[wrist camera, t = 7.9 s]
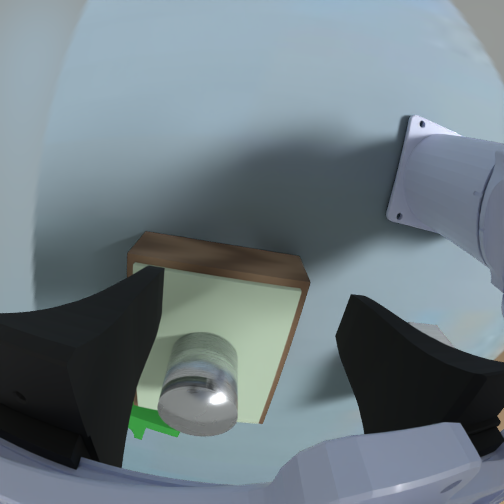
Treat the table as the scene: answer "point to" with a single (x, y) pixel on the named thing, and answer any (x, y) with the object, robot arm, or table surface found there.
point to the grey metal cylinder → (200, 385)
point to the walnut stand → (223, 310)
